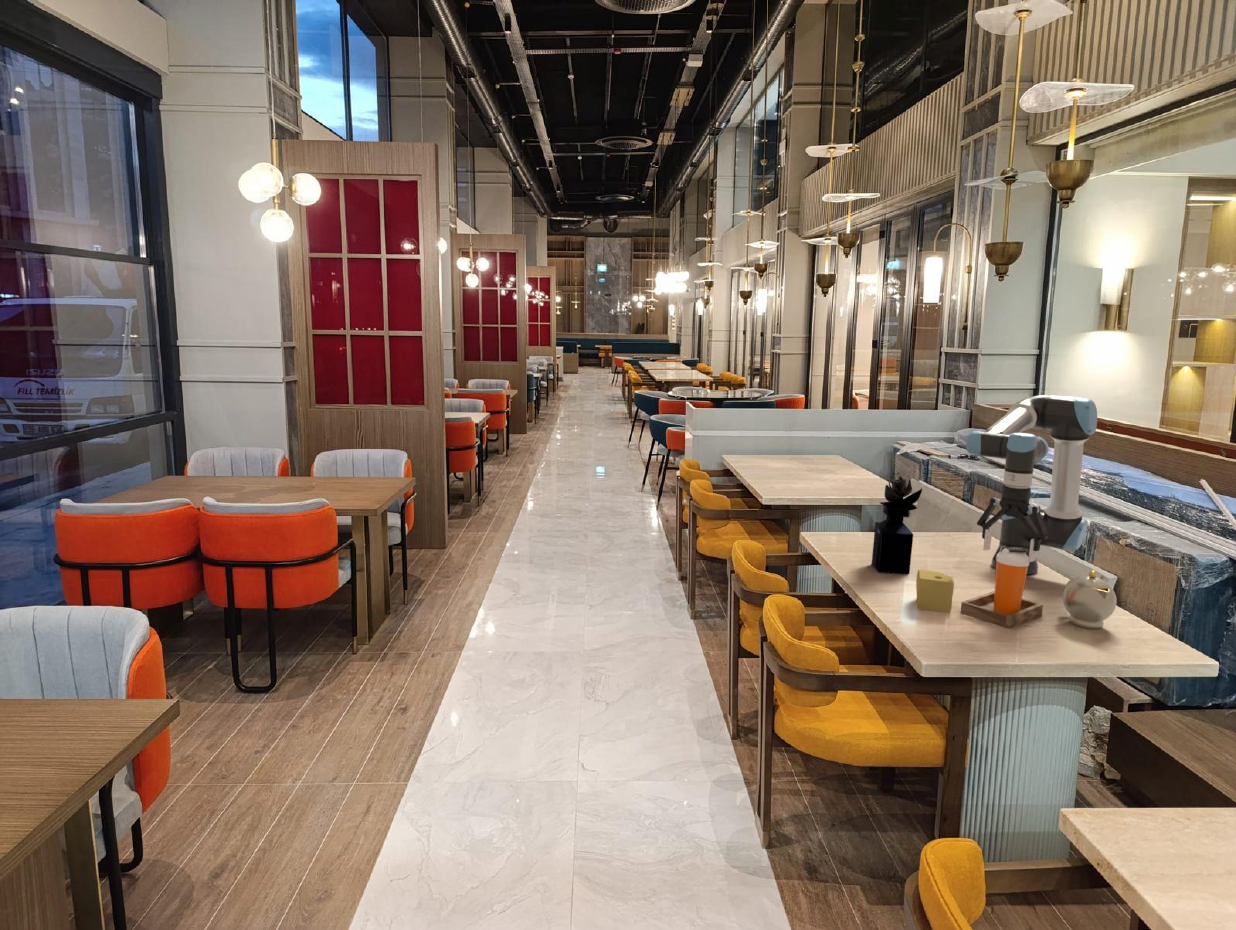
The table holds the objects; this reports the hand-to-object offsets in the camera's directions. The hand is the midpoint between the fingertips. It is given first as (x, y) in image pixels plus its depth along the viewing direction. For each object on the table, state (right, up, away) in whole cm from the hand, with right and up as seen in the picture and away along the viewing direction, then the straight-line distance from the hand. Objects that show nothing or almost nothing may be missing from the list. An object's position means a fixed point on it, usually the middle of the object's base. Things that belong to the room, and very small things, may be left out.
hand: (1008, 555), depth 238 cm
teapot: (+21, -20, -1) cm, 29 cm away
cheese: (-19, -17, +9) cm, 27 cm away
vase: (-20, -10, +46) cm, 51 cm away
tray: (-1, -18, +3) cm, 19 cm away
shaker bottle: (0, -18, +2) cm, 18 cm away
